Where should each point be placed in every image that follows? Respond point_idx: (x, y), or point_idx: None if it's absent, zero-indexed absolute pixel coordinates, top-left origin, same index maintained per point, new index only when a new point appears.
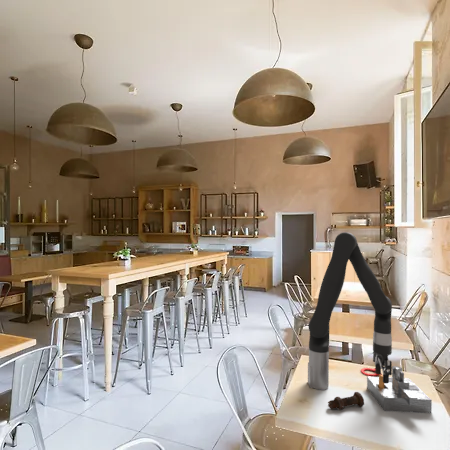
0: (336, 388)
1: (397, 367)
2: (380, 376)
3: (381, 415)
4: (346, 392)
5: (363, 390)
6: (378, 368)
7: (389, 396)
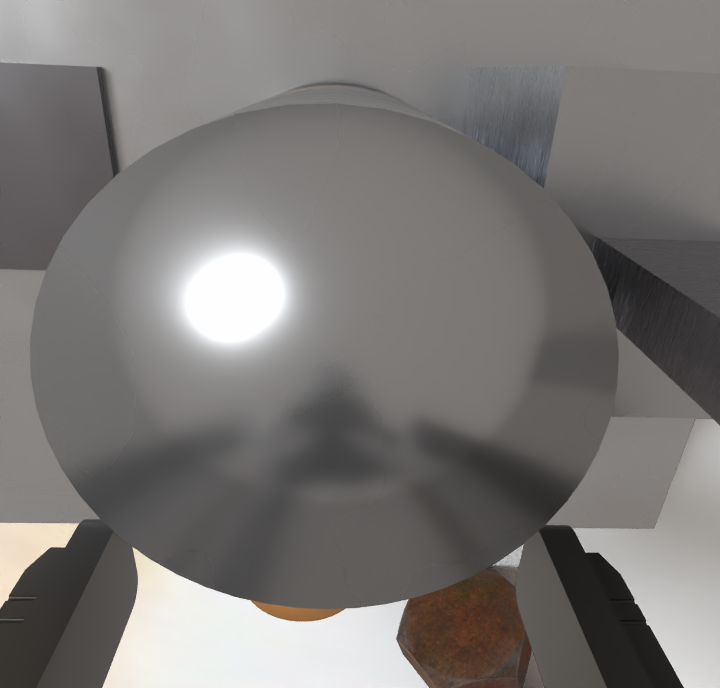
0: (167, 663)
1: (252, 372)
2: (334, 609)
3: None
4: (232, 613)
5: None
6: (72, 680)
7: (643, 452)
